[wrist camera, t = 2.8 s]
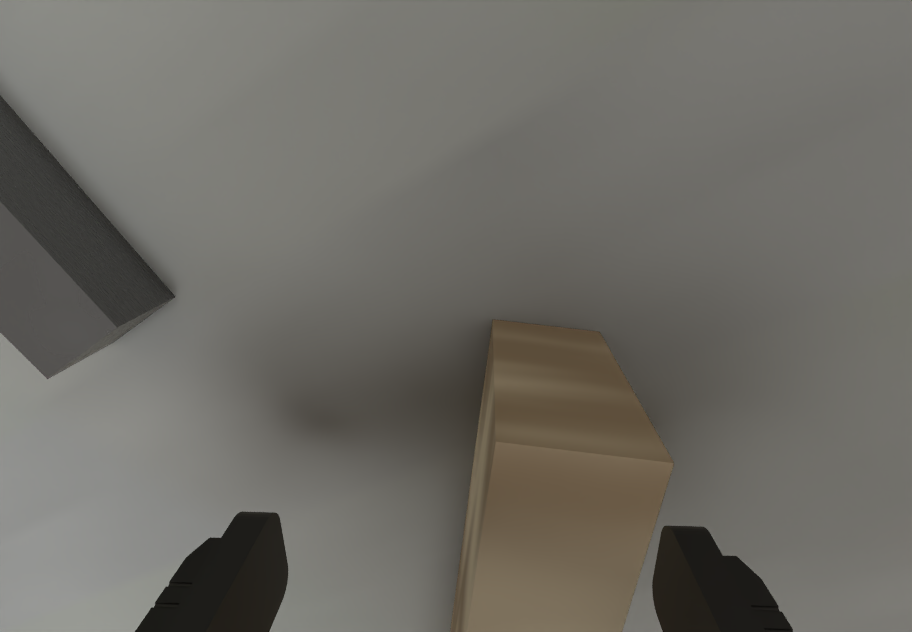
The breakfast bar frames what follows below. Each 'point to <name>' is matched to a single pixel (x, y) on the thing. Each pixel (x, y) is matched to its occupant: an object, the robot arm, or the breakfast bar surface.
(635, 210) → the breakfast bar surface
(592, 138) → the breakfast bar surface
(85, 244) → the dark bar
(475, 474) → the l-shaped wooden block
